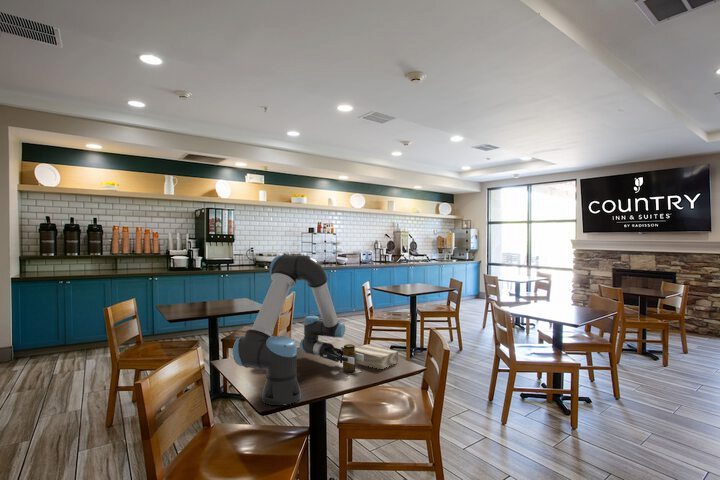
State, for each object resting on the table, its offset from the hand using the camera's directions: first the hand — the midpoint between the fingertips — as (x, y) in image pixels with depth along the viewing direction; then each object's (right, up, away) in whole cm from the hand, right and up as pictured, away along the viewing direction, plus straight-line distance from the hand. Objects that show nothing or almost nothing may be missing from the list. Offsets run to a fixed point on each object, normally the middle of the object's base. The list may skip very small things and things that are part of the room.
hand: (358, 359), depth 180 cm
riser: (+8, -6, +17) cm, 19 cm away
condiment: (-4, -7, +3) cm, 8 cm away
